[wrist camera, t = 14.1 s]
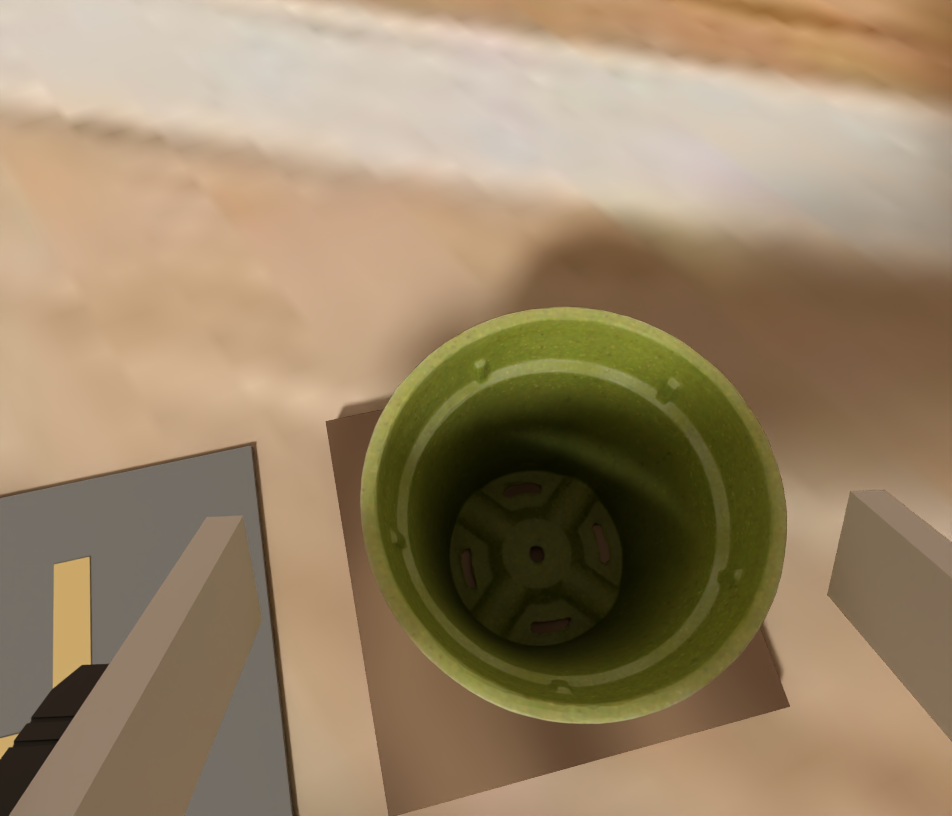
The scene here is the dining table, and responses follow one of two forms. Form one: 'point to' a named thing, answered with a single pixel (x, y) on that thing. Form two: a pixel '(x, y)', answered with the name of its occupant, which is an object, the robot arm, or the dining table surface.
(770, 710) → the walnut board
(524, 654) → the plant pot
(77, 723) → the robot arm
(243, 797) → the slate mat
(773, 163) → the dining table surface
